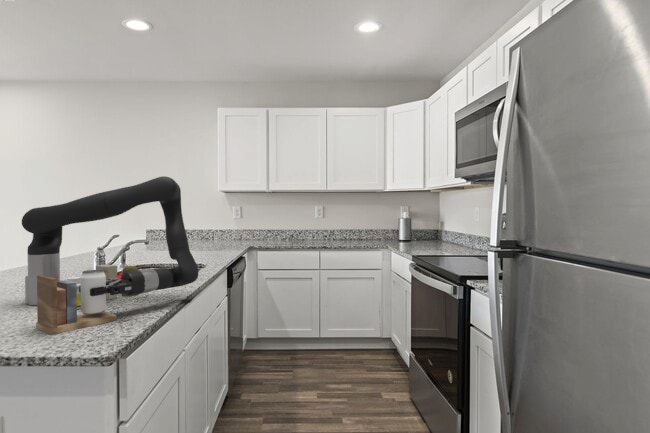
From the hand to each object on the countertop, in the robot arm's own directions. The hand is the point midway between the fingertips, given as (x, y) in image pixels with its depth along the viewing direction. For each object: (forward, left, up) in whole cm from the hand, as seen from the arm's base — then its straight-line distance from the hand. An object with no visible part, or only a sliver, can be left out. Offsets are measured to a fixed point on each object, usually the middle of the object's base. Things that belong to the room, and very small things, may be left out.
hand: (85, 290), depth 118 cm
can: (+1, +2, -7) cm, 7 cm away
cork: (-9, +37, -9) cm, 39 cm away
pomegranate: (-18, +41, -9) cm, 45 cm away
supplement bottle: (-15, +15, -9) cm, 23 cm away
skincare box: (-14, +30, -9) cm, 34 cm away
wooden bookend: (-1, -2, -9) cm, 9 cm away
